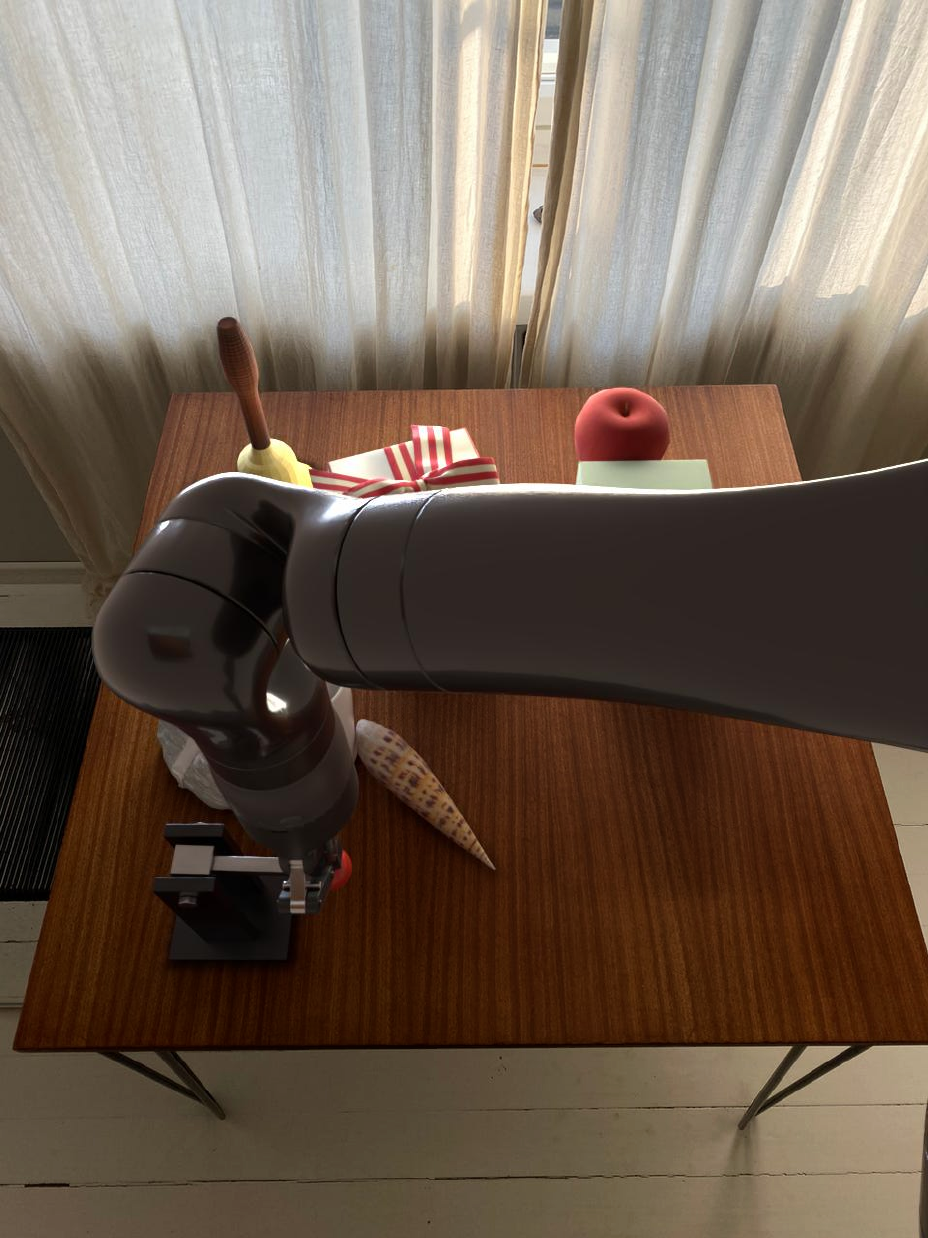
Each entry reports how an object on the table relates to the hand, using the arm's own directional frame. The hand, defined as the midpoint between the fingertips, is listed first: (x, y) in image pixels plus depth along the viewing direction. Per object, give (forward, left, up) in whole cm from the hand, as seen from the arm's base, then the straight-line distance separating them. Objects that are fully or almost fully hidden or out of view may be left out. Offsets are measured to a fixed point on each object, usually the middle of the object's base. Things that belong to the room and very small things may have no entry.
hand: (327, 860), depth 64 cm
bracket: (+2, +10, -15) cm, 18 cm away
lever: (+1, +5, -3) cm, 6 cm away
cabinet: (+30, -36, -15) cm, 49 cm away
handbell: (+50, +2, -15) cm, 52 cm away
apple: (+45, -38, -15) cm, 61 cm away
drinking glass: (+16, 0, -15) cm, 22 cm away
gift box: (+35, -12, -15) cm, 40 cm away
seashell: (+9, -8, -15) cm, 19 cm away
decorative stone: (+19, +10, -15) cm, 26 cm away
